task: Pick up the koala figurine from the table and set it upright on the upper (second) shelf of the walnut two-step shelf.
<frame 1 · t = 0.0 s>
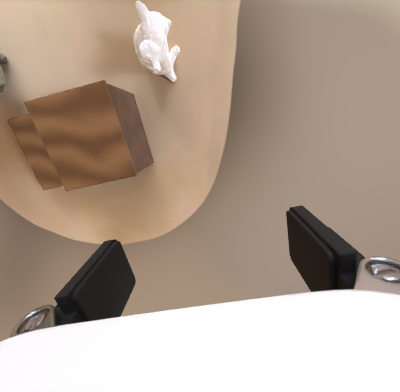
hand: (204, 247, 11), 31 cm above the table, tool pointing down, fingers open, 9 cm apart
step shelf: (92, 142, 40), on the table
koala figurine: (164, 63, 35), on the table
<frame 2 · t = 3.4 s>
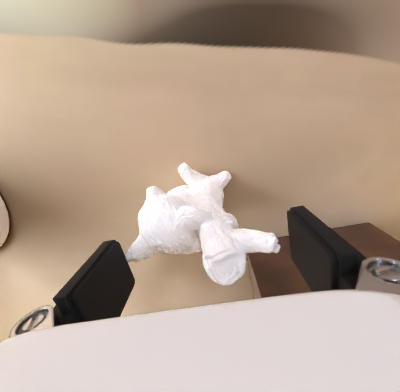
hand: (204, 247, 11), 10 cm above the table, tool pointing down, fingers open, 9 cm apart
step shelf: (308, 307, 25), on the table
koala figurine: (200, 190, 20), on the table, touching gripper
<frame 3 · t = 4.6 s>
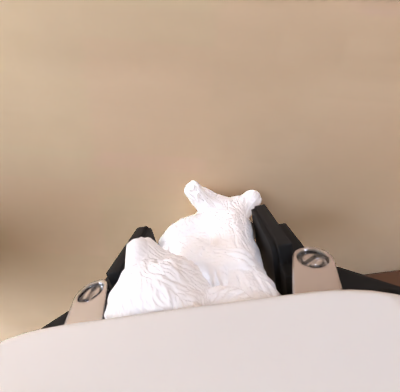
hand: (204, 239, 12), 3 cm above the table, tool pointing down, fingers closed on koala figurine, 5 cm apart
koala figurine: (214, 216, 14), on the table, touching gripper
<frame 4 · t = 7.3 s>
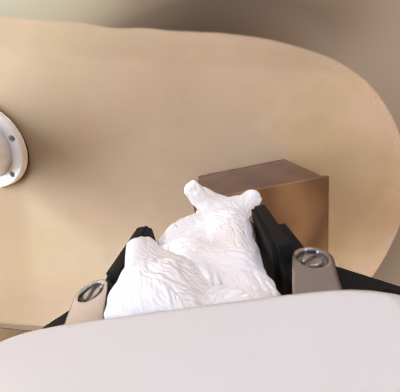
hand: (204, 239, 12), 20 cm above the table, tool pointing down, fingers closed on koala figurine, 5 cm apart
step shelf: (249, 230, 33), on the table
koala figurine: (214, 215, 14), point 17 cm above the table, touching gripper
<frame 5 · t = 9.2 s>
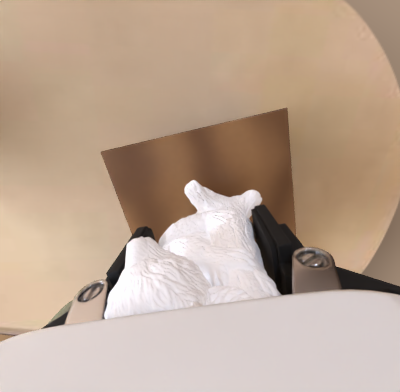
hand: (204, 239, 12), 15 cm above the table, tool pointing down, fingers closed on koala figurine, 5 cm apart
step shelf: (214, 210, 28), on the table
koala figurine: (214, 216, 14), point 12 cm above the table, touching gripper
when the fingers open (14 cm above the table, at t = 10.2 s): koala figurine stays where it is, resting on step shelf.
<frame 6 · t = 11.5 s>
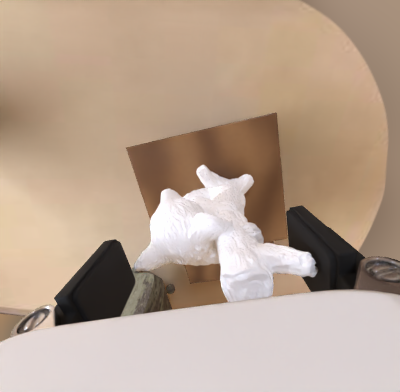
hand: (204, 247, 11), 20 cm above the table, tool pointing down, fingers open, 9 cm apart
spike-topped wooden block: (140, 276, 37), on the table
step shelf: (217, 201, 31), on the table
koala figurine: (219, 194, 19), point 11 cm above the table, touching step shelf
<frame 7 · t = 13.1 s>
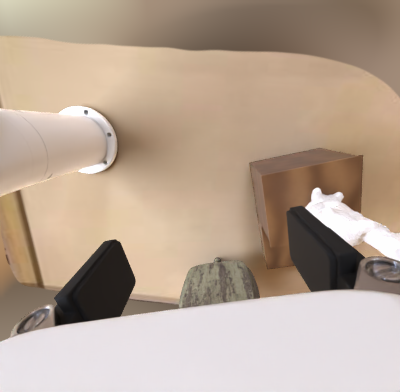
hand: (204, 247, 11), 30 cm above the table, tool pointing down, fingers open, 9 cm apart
spike-topped wooden block: (219, 265, 47), on the table
step shelf: (288, 207, 41), on the table
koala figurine: (317, 204, 29), point 11 cm above the table, touching step shelf
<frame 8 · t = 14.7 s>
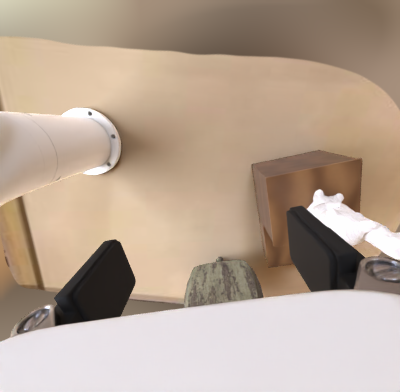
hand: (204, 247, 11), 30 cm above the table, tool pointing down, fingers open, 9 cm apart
spike-topped wooden block: (220, 264, 48), on the table
step shelf: (288, 207, 42), on the table
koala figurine: (318, 205, 30), point 11 cm above the table, touching step shelf
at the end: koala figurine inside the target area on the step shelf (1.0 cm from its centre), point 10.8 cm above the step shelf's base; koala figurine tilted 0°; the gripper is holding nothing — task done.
